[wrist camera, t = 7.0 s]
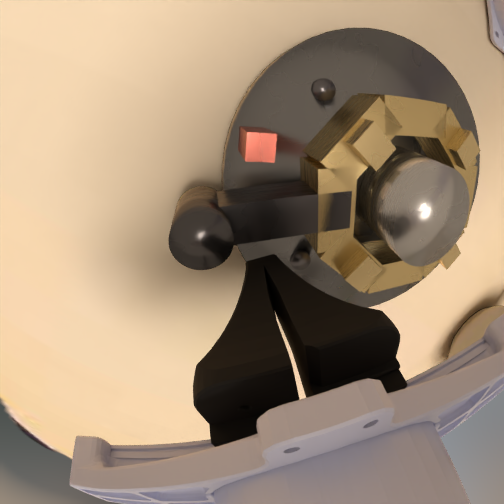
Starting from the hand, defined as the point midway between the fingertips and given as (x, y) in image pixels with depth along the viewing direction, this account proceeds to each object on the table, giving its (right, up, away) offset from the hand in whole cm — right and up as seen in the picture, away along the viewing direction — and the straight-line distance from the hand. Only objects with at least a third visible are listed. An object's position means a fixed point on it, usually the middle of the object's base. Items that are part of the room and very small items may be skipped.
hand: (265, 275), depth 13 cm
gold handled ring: (+3, +4, 0) cm, 5 cm away
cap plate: (+6, +5, +1) cm, 8 cm away
